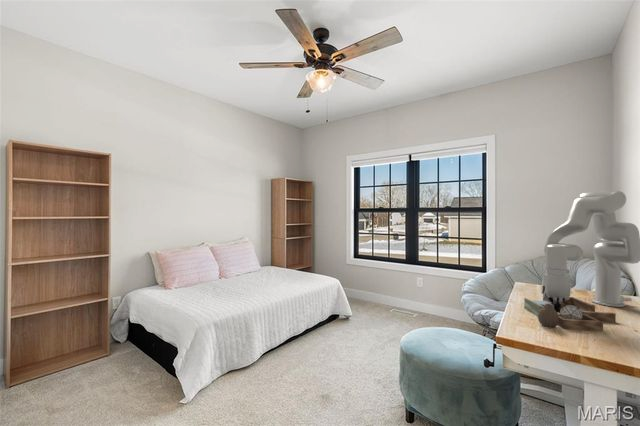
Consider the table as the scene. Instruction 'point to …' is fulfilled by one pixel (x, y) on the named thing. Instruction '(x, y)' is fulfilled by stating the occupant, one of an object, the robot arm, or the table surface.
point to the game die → (571, 312)
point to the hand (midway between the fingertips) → (555, 311)
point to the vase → (548, 316)
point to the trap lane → (589, 323)
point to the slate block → (543, 303)
